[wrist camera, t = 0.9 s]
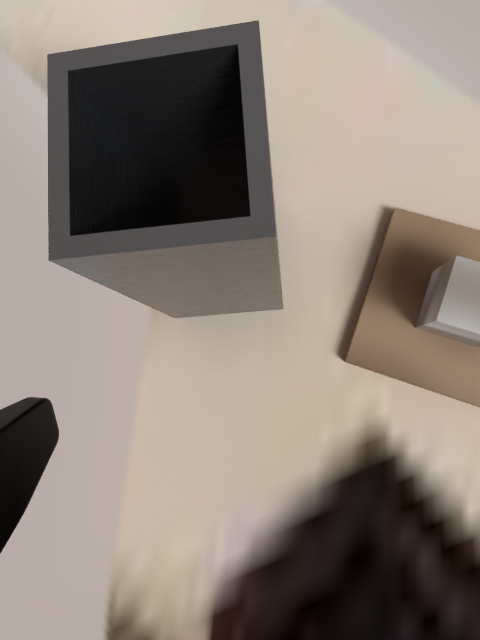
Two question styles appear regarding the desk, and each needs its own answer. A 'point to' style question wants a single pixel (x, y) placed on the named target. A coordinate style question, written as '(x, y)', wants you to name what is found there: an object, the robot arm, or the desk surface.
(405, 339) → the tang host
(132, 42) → the socket sleeve
